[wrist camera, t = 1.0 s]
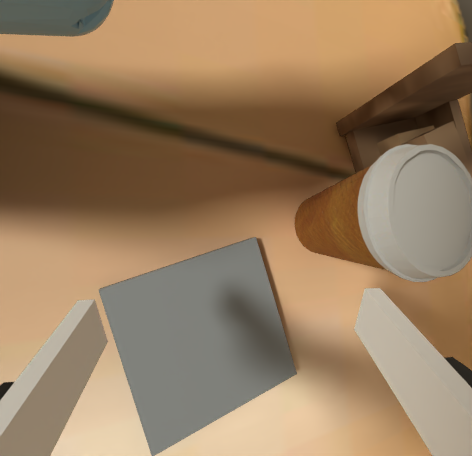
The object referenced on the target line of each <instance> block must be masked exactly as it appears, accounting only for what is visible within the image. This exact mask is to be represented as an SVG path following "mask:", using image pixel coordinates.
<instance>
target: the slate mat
mask: <svg viewBox="0 0 472 456" xmlns="http://www.w3.org/2000/svg"><path fill="white" fill-rule="evenodd" d="M99 293H100V296H101V299H102V302H103V305H104V309H105V312H106V315H107V318H108V321H109V324H110V327H111V330H112V333H113V337H114V340H115V343H116V346H117V349H118V352H119V355H120V358H121V361H122V365H123V368H124V371H125V374H126V377H127V380H128V383H129V386H130V389H131V393H132V396H133V399H134V402H135V405H136V408H137V411H138V414H139V417H140V421H141V424H142V427H143V430H144V433H145V436H146V439H147V442H148V445H149V449H150V452H151V455H152V456H154V455H156V454H158V453H160V452H161V451H163V450H165V449H167V448H168V447H170V446H172V445H174V444H175V443H177V442H179V441H181V440H182V439H184V438H186V437H188V436H189V435H191V434H193V433H195V432H196V431H198V430H200V429H202V428H203V427H205V426H207V425H209V424H210V423H212V422H214V421H215V420H217V419H219V418H221V417H222V416H224V415H226V414H228V413H229V412H231V411H233V410H235V409H236V408H238V407H240V406H242V405H243V404H245V403H247V402H249V401H250V400H252V399H254V398H256V397H257V396H259V395H261V394H263V393H264V392H266V391H268V390H270V389H271V388H273V387H275V386H277V385H278V384H280V383H282V382H283V381H285V380H287V379H289V378H290V377H292V376H294V375H296V374H297V372H296V369H295V366H294V363H293V359H292V356H291V353H290V349H289V346H288V343H287V339H286V336H285V333H284V329H283V326H282V323H281V319H280V316H279V313H278V309H277V306H276V303H275V299H274V296H273V293H272V289H271V286H270V283H269V279H268V276H267V273H266V269H265V266H264V263H263V259H262V256H261V253H260V249H259V246H258V243H257V239H256V237H253V238H250V239H247V240H244V241H241V242H238V243H235V244H232V245H229V246H226V247H223V248H220V249H217V250H214V251H211V252H208V253H205V254H202V255H199V256H196V257H193V258H190V259H187V260H184V261H181V262H178V263H175V264H172V265H169V266H166V267H163V268H160V269H157V270H154V271H151V272H148V273H145V274H142V275H139V276H136V277H133V278H130V279H127V280H124V281H121V282H118V283H115V284H112V285H109V286H106V287H103V288H101V289H99Z"/></svg>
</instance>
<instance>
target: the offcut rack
mask: <svg viewBox="0 0 472 456" xmlns="http://www.w3.org/2000/svg"><path fill="white" fill-rule="evenodd" d="M470 93H472V42H468V43H455V44H453V45H452V46H450V47H449V48H447V49H446V50H444V51H443V52H441V53H440V54H439V55H437V56H436V57H434V58H433V59H431V60H430V61H428V62H427V63H425V64H424V65H422V66H421V67H419V68H418V69H416V70H415V71H413V72H412V73H410V74H409V75H407V76H406V77H404V78H403V79H401V80H400V81H398V82H397V83H395V84H394V85H392V86H391V87H389V88H388V89H386V90H385V91H383V92H382V93H380V94H379V95H377V96H376V97H374V98H373V99H371V100H370V101H368V102H367V103H365V104H364V105H362V106H361V107H360V108H358V109H357V110H355V111H354V112H352V113H351V114H349V115H348V116H346V117H345V118H343V119H342V120H340V121H339V122H337V123H336V124H337V127H338V131H339V134H340V136H344V135H345V136H346V139H347V143H348V146H349V150H350V153H351V157H352V160H353V164H354V167H355V171H356V173H357V172H359V171H361V170H364V169H365V168H367V167H369V166H371V165H372V164H373V163H375V162H376V161H377V159H378V158H379V157H380V152H379V149H378V145H377V143H379V142H381V141H383V140H385V139H387V138H389V137H392V136H394V135H396V134H399V133H403V132H407V131H412V130H416V129H420V128H425V127H429V126H433V125H434V128H437V127H440V126H442V125H444V124H447V123H449V122H452V121H454V124H455V127H456V129H457V132H458V135H459V138H460V140H461V143H462V146H463V148H464V151H465V154H466V156H467V159H468V162H469V165H470V167H471V170H472V150H471V146H470V143H469V139H468V135H467V132H466V128H465V124H464V121H463V117H462V113H461V110H460V106H459V102H458V100H457V99H459V98H461V97H463V96H465V95H467V94H470Z"/></svg>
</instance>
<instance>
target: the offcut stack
mask: <svg viewBox="0 0 472 456" xmlns="http://www.w3.org/2000/svg"><path fill="white" fill-rule="evenodd" d="M405 144H410V145H428V144H433V145H437V146H441V147H443V148H445V149H447V150H448V151H450V152H451V153H453V154H454V155H455V156H456V157H457V158H458V159H459V160H460V161H461V162H462V163H463V165H464V166H465V168H466V169H467V171H468V172H469V174H470V175H471V178H472V170H471V167H470V165H469V162H468V159H467V156H466V154H465V151H464V148H463V146H462V143H461V140H460V138H459V135H458V132H457V129H456V127H455V124H454V121H452V122H449V123H447V124H444V125H442V126H440V127H437V128H434V125H433V126H429V127H425V128H420V129H416V130H412V131H407V132H403V133H399V134H396V135H394V136H392V137H389V138H387V139H385V140H383V141H381V142H379V143H377V145H378V149H379V152H380V156H381V155H383V154H384V153H385V152H387V151H388V150H390V149H392V148H394V147H396V146H400V145H405Z"/></svg>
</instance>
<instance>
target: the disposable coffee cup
mask: <svg viewBox="0 0 472 456" xmlns="http://www.w3.org/2000/svg"><path fill="white" fill-rule="evenodd" d="M295 229H296V234H297V236H298V238H299V240H300V242H301V243H302V245H303V246H304V247H306V248H307V249H308V250H310V251H312V252H315V253H319V254H323V255H327V256H331V257H336V258H340V259H343V260H348V261H352V262H356V263H360V264H364V265H368V266H373V267H377V268H381V269H385V270H388V271H390V272H392V273H393V274H395V275H397V276H399V277H400V278H402V279H406V280H409V281H413V282H427V281H430V280H434V279H436V278H437V277H444V276H450V275H452V274H455V273H457V272H458V271H460V270H461V269H462V268H463V267H464V266H465V265H466V264H467V263H468V262H469V260H470V259H471V257H472V178H471V175H470V174H469V172H468V171H467V169H466V168H465V166H464V165H463V163H462V162H461V161H460V160H459V159H458V158H457V157H456V156H455V155H454V154H453V153H451V152H450V151H448V150H447V149H445V148H443V147H441V146H437V145H433V144H428V145H410V144H405V145H400V146H396V147H394V148H392V149H390V150H388V151H387V152H385V153H384V154H383V155H381V156H380V157H379V158H378V159H377V161H376V162H375V163H373V164H372V165H371V166H369V167H367V168H365V169H364V170H361V171H359V172H357V173H356V174H354V175H352V176H350V177H348V178H346V179H344V180H343V181H341V182H339V183H337V184H335V185H333V186H331V187H330V188H327V189H326V190H324V191H322V192H320V193H318V194H316V195H315V196H312V197H311V198H308V199H307V200H305V201H304V202H303V203H302V204H301V205H300V207H299V209H298V211H297V213H296V217H295Z"/></svg>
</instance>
